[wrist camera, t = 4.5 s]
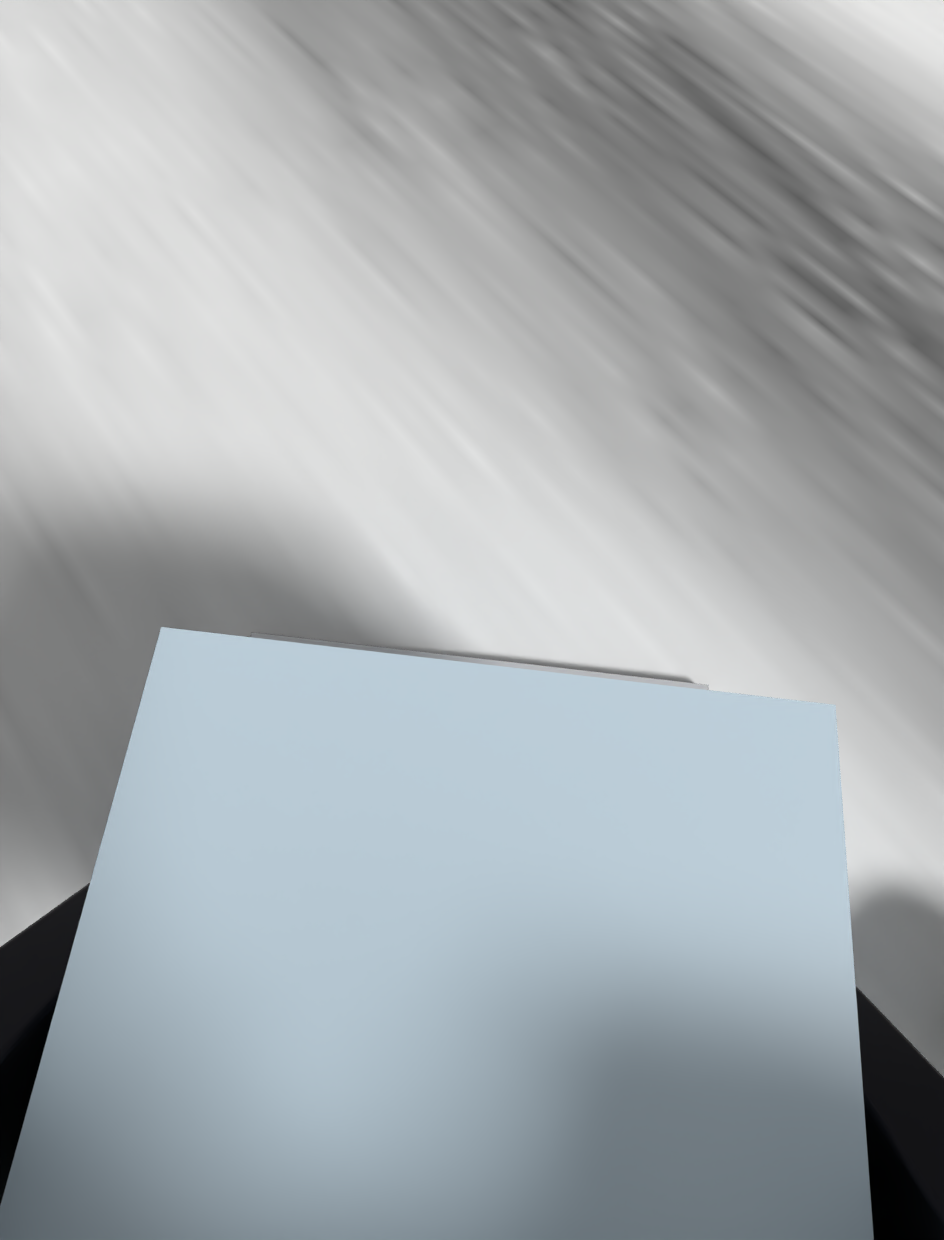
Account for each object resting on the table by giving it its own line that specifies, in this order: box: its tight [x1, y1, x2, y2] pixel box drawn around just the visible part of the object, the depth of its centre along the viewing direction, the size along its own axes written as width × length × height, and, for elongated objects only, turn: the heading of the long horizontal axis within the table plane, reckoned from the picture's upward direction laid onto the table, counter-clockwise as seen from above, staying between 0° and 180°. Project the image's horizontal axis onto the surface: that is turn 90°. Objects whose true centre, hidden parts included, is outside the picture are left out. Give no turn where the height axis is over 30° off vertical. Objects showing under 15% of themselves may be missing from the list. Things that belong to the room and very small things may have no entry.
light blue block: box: [0, 627, 874, 1240], centre depth 10 cm, size 7×7×10 cm
